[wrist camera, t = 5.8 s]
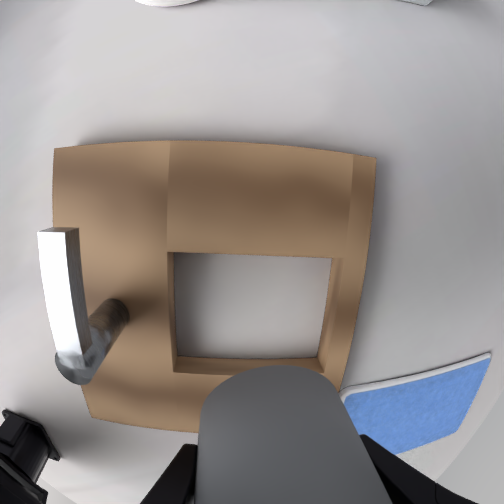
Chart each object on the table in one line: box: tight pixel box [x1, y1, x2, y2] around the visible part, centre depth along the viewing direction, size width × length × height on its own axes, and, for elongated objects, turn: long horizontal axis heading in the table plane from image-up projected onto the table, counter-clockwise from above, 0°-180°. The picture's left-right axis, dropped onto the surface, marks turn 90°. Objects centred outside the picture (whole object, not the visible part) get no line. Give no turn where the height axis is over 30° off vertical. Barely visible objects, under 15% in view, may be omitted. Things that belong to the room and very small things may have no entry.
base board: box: [52, 141, 376, 433], centre depth 18 cm, size 20×19×2 cm
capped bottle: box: [194, 365, 392, 504], centre depth 6 cm, size 5×5×6 cm
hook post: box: [38, 227, 130, 385], centre depth 13 cm, size 7×2×6 cm, turn 177°
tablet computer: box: [339, 353, 491, 455], centre depth 23 cm, size 19×13×1 cm, turn 89°
